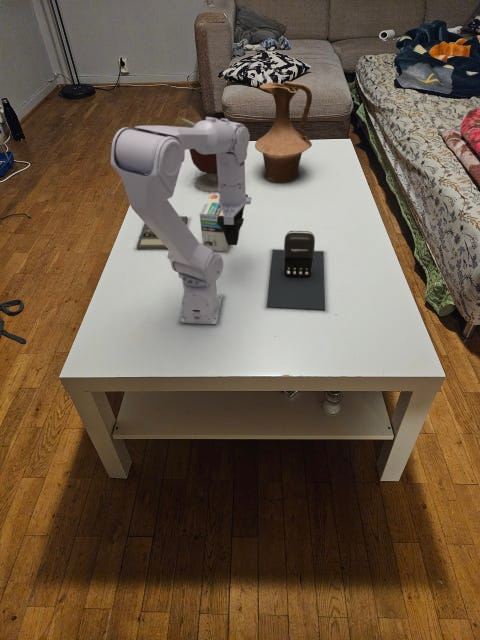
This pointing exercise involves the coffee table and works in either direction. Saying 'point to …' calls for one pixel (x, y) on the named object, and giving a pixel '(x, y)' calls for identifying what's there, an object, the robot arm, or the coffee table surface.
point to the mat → (296, 285)
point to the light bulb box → (212, 225)
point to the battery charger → (298, 253)
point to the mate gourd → (205, 167)
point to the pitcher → (284, 134)
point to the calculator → (152, 238)
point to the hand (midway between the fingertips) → (234, 234)
